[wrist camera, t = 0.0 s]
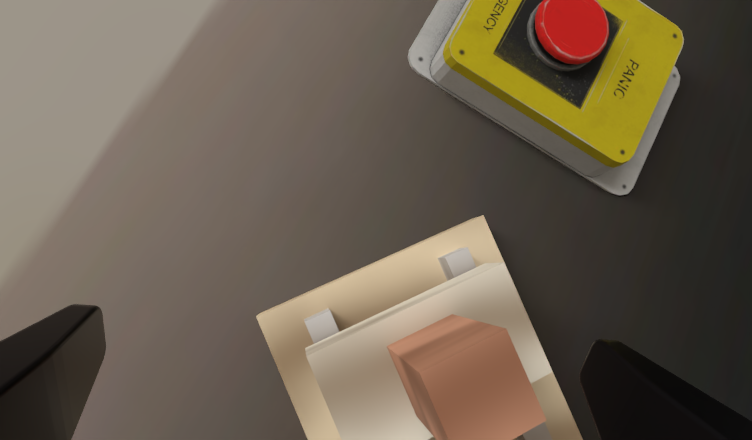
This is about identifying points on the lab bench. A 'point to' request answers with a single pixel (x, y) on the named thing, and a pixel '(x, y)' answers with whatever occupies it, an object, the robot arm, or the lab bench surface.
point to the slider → (437, 365)
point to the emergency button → (560, 75)
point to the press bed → (374, 295)
